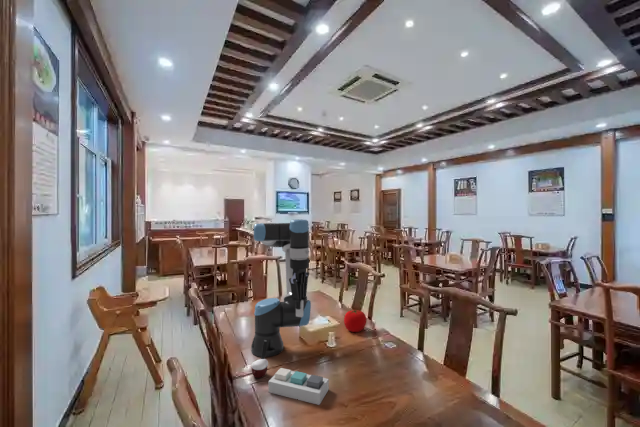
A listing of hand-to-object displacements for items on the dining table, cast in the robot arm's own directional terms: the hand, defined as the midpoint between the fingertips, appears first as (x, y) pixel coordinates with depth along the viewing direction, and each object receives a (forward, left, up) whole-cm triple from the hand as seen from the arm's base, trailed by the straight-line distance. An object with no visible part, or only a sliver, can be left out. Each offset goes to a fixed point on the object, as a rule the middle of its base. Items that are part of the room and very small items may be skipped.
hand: (299, 316), depth 122 cm
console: (+4, -10, -24) cm, 26 cm away
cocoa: (-15, -6, -24) cm, 29 cm away
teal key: (+4, -10, -22) cm, 25 cm away
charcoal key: (+11, -10, -22) cm, 26 cm away
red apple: (+9, +51, -24) cm, 57 cm away
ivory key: (-2, -10, -22) cm, 24 cm away
